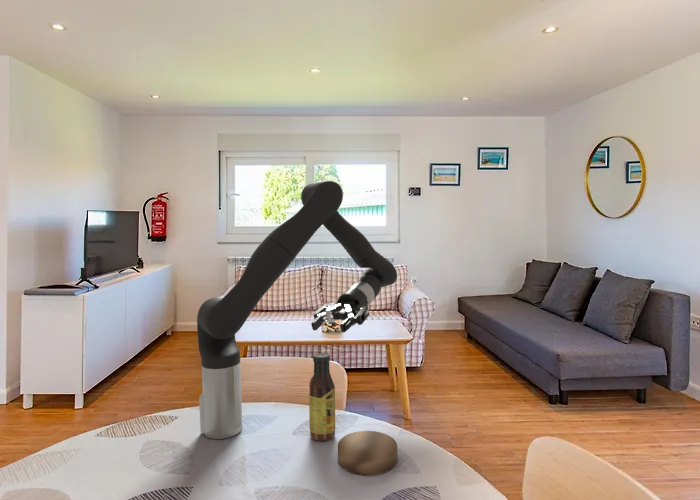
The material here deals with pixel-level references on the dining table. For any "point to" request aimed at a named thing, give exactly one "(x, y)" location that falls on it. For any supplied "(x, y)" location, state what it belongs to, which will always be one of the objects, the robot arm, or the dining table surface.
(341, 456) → the tan flat disc
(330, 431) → the sauce bottle
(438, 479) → the dining table surface
